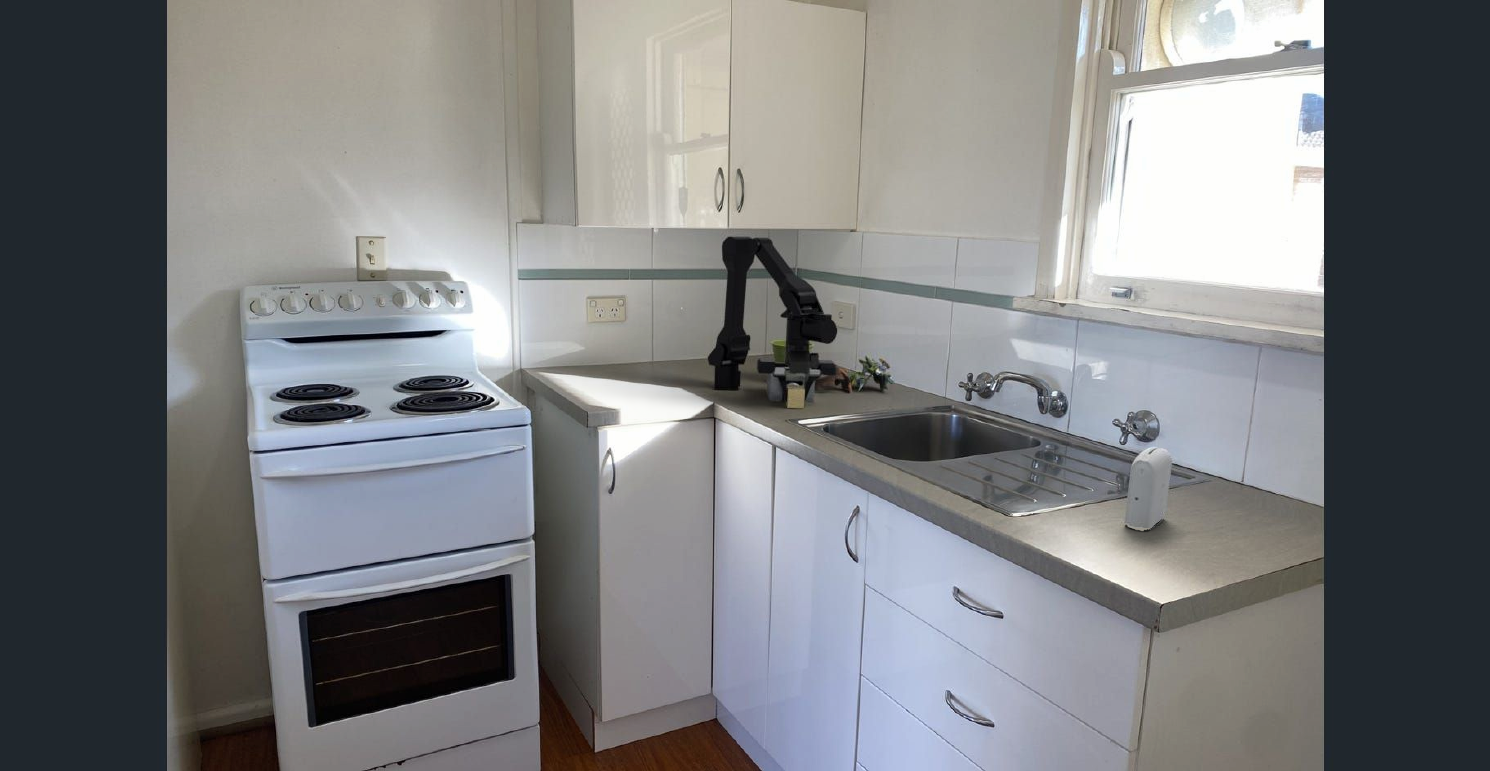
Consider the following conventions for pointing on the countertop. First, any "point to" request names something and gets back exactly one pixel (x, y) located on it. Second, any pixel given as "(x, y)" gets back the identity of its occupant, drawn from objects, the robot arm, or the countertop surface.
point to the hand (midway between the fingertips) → (794, 401)
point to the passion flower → (872, 373)
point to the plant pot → (782, 350)
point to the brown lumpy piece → (834, 380)
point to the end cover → (795, 395)
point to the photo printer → (1148, 488)
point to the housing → (774, 384)
